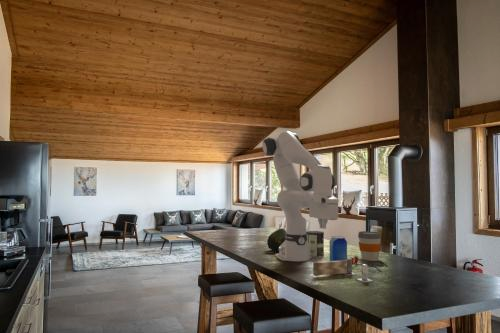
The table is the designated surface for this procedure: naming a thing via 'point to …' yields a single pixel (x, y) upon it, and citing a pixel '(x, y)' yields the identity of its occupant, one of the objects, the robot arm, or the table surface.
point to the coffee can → (315, 243)
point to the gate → (332, 267)
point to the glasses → (363, 260)
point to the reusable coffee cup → (369, 245)
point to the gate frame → (364, 274)
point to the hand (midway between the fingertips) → (322, 228)
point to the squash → (276, 239)
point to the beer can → (338, 248)
